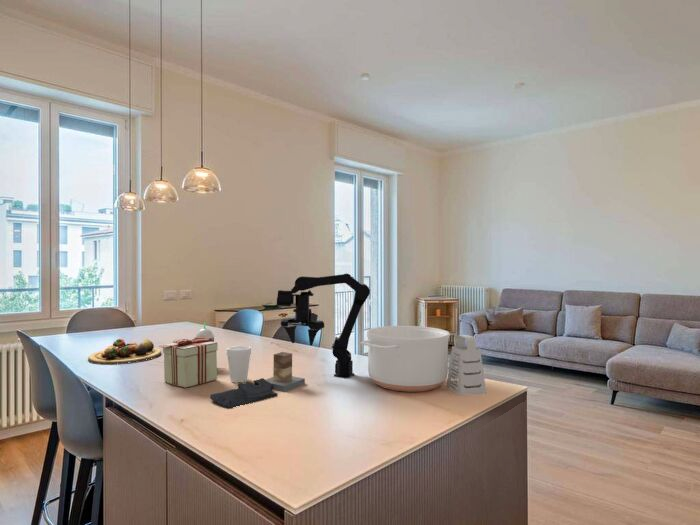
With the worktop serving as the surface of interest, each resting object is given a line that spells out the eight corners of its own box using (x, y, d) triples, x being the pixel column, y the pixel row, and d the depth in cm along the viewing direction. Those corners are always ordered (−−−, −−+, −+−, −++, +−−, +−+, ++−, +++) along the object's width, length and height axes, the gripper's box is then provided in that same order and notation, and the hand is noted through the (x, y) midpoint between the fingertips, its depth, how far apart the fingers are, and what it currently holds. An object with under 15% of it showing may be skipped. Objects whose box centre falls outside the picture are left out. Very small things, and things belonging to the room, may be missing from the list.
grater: (460, 395, 154) (460, 339, 153) (446, 387, 164) (446, 334, 164) (486, 393, 156) (486, 337, 156) (470, 385, 166) (471, 333, 166)
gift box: (189, 373, 183) (189, 332, 183) (220, 379, 173) (220, 336, 173) (153, 383, 168) (153, 338, 168) (184, 390, 159) (184, 343, 159)
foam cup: (236, 385, 165) (236, 351, 165) (221, 381, 171) (221, 348, 171) (255, 379, 173) (255, 347, 173) (241, 376, 178) (241, 344, 178)
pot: (408, 367, 194) (408, 322, 194) (471, 381, 172) (471, 330, 172) (340, 385, 165) (340, 332, 165) (406, 405, 143) (406, 344, 143)
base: (304, 383, 168) (304, 378, 168) (285, 391, 157) (285, 386, 157) (280, 379, 174) (280, 374, 174) (260, 386, 163) (260, 381, 163)
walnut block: (292, 366, 166) (292, 353, 166) (283, 369, 162) (283, 355, 162) (281, 364, 169) (282, 351, 169) (273, 367, 165) (273, 354, 165)
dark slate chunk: (203, 401, 148) (203, 387, 148) (257, 387, 164) (257, 375, 164) (227, 411, 138) (227, 396, 138) (282, 396, 154) (282, 382, 154)
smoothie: (217, 365, 197) (217, 321, 197) (209, 369, 189) (209, 323, 189) (199, 364, 198) (199, 320, 198) (191, 369, 190) (191, 323, 190)
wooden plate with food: (91, 354, 221) (91, 338, 221) (159, 348, 235) (159, 333, 235) (84, 369, 192) (84, 351, 192) (162, 361, 206) (162, 344, 206)
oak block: (292, 379, 166) (292, 366, 166) (283, 382, 162) (283, 369, 162) (281, 377, 169) (281, 364, 169) (273, 380, 165) (273, 367, 165)
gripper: (331, 306, 182) (331, 343, 182) (296, 303, 191) (296, 339, 191) (316, 308, 172) (316, 347, 172) (279, 306, 181) (279, 343, 182)
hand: (302, 344), depth 179 cm, fingers open, 9 cm apart
